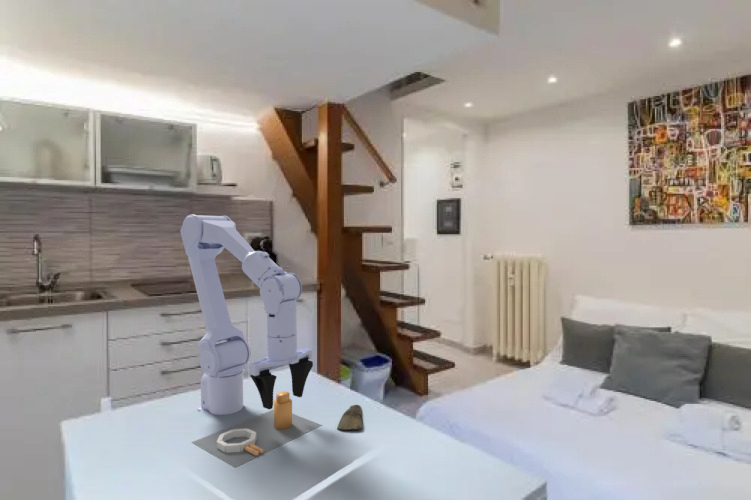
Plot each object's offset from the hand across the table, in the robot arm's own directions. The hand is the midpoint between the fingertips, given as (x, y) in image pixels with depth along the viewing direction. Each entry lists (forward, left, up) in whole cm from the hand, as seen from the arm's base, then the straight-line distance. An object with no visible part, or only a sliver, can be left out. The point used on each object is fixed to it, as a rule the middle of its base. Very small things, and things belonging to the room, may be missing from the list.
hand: (283, 401), depth 87 cm
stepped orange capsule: (0, 0, -5) cm, 5 cm away
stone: (+9, +12, -6) cm, 16 cm away
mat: (-1, -5, -6) cm, 8 cm away
